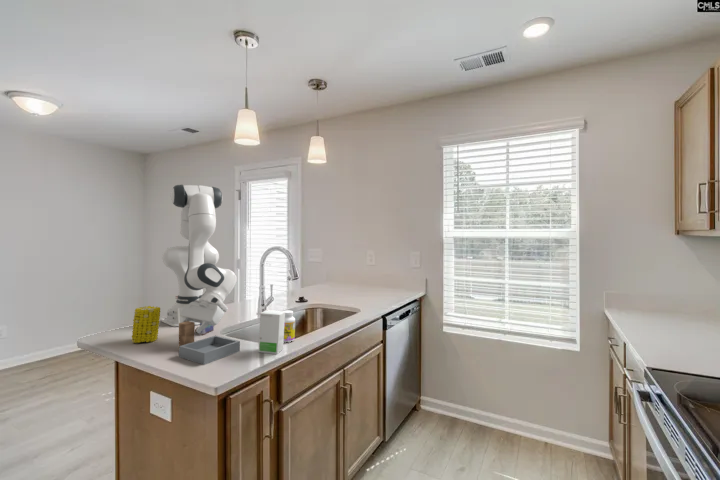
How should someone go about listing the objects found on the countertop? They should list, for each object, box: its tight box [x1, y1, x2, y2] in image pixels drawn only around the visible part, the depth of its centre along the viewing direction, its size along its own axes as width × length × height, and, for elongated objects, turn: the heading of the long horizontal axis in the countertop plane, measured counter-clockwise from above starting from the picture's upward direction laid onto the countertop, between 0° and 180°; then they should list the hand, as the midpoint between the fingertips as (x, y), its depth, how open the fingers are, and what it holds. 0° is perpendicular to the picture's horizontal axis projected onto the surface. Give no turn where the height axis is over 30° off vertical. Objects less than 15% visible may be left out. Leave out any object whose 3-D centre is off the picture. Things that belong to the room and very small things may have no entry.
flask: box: [199, 323, 215, 336], centre depth 156 cm, size 9×3×11 cm, turn 172°
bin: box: [178, 335, 241, 365], centre depth 129 cm, size 14×16×4 cm
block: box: [178, 321, 196, 347], centre depth 135 cm, size 4×4×10 cm
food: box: [131, 305, 161, 344], centre depth 143 cm, size 15×12×10 cm
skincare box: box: [257, 309, 285, 355], centre depth 134 cm, size 8×7×16 cm
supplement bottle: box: [283, 309, 296, 344], centre depth 147 cm, size 7×7×13 cm
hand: (189, 330), depth 136 cm, fingers open, 8 cm apart
